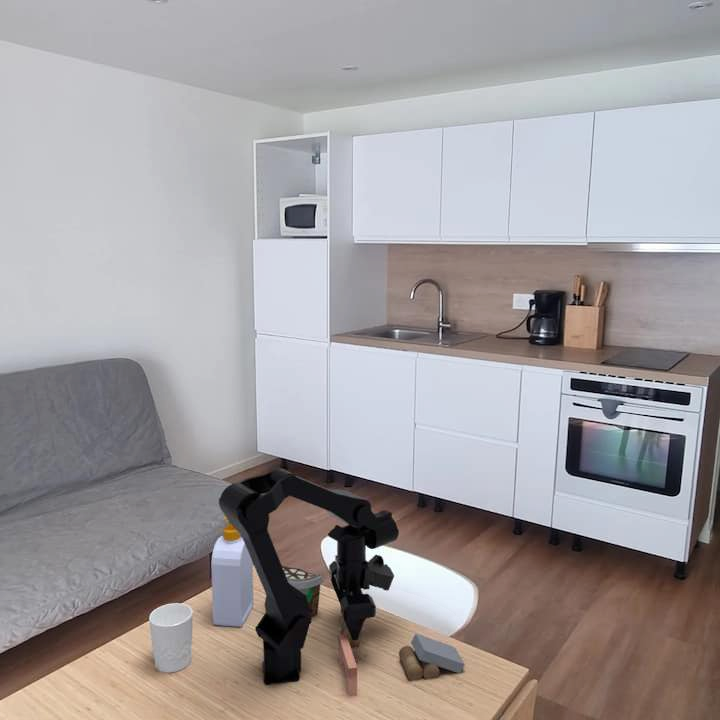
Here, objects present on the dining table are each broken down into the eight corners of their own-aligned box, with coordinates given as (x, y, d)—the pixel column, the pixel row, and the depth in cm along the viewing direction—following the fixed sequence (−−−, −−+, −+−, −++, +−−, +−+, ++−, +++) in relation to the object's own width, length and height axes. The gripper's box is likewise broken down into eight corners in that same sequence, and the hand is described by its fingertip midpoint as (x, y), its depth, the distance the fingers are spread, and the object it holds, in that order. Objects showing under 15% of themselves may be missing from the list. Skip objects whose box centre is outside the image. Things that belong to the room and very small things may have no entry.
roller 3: (432, 662, 120) (442, 672, 121) (422, 642, 126) (431, 651, 127) (420, 674, 120) (430, 683, 121) (410, 653, 126) (420, 662, 127)
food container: (260, 614, 141) (259, 571, 140) (276, 601, 147) (276, 559, 145) (308, 630, 136) (308, 585, 134) (323, 615, 141) (323, 572, 139)
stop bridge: (348, 696, 116) (348, 668, 115) (338, 660, 126) (338, 634, 125) (356, 695, 116) (357, 667, 115) (346, 659, 126) (346, 633, 125)
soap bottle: (244, 628, 136) (242, 525, 132) (212, 626, 137) (209, 523, 133) (256, 605, 145) (255, 508, 141) (226, 603, 146) (224, 506, 142)
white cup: (143, 662, 125) (141, 614, 123) (180, 644, 130) (178, 598, 129) (165, 681, 119) (163, 631, 118) (202, 661, 125) (200, 613, 123)
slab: (419, 659, 120) (424, 650, 120) (411, 642, 125) (415, 633, 125) (460, 673, 122) (464, 664, 122) (450, 656, 128) (454, 647, 128)
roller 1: (346, 650, 130) (345, 636, 129) (341, 631, 136) (340, 618, 135) (361, 647, 130) (360, 634, 130) (355, 629, 136) (354, 616, 136)
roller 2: (408, 667, 119) (424, 666, 120) (399, 646, 126) (414, 645, 126) (407, 682, 120) (423, 680, 121) (398, 660, 126) (413, 659, 127)
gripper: (402, 574, 122) (401, 649, 125) (379, 532, 140) (378, 598, 143) (344, 579, 120) (344, 656, 123) (328, 536, 138) (328, 603, 141)
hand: (350, 626), depth 132 cm, fingers open, 9 cm apart
